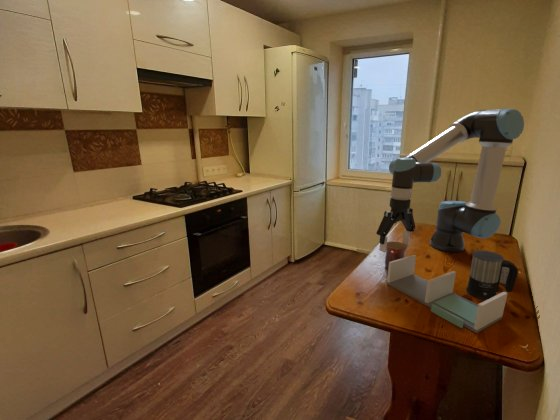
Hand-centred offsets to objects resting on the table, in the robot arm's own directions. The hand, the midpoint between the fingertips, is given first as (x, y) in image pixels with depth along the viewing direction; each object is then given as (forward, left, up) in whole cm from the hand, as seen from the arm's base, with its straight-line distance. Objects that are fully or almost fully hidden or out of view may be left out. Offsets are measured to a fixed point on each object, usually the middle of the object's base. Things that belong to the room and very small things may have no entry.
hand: (394, 248), depth 126 cm
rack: (+5, +24, -9) cm, 26 cm away
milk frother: (-16, +27, -10) cm, 33 cm away
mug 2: (-32, +27, -10) cm, 43 cm away
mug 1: (0, 0, -10) cm, 10 cm away
